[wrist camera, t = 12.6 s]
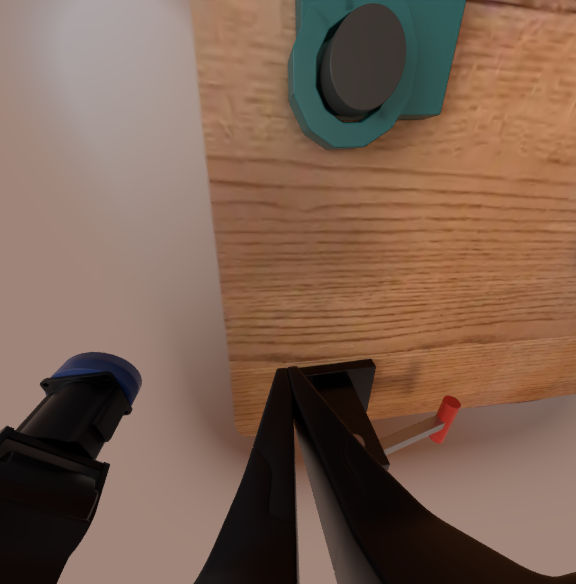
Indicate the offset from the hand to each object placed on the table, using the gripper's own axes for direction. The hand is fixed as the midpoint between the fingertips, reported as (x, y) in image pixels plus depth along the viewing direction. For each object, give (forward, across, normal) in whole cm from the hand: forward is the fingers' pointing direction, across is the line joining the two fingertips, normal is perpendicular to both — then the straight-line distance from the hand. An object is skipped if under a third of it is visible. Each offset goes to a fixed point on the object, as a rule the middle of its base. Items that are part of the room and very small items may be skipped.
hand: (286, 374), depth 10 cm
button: (+8, -5, -12) cm, 15 cm away
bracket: (+12, -6, +16) cm, 21 cm away
